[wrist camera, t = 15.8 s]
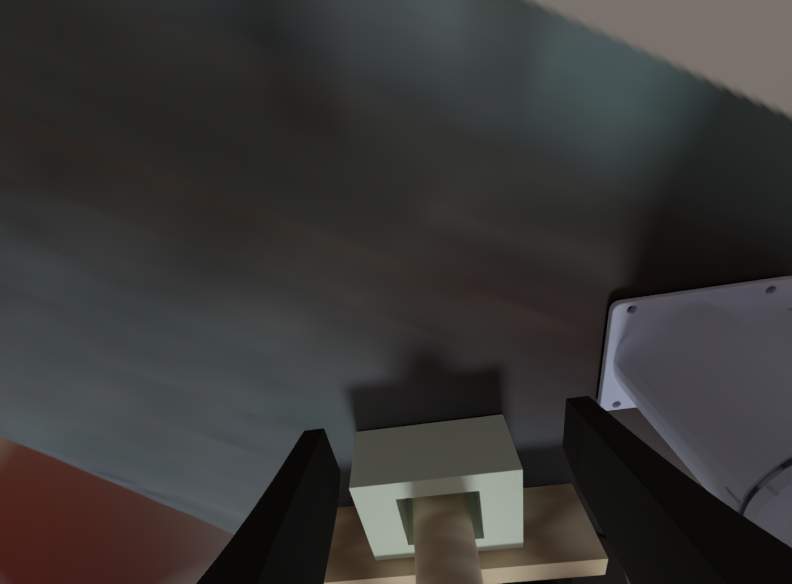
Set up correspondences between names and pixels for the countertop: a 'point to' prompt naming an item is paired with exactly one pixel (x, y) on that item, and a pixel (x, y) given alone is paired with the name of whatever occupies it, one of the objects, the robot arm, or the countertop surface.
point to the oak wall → (537, 560)
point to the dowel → (445, 541)
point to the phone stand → (612, 580)
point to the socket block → (438, 481)
